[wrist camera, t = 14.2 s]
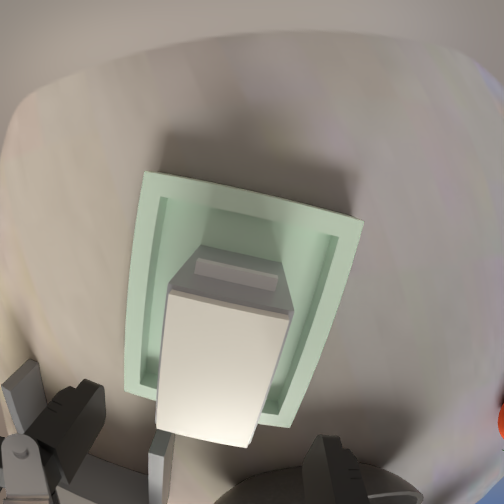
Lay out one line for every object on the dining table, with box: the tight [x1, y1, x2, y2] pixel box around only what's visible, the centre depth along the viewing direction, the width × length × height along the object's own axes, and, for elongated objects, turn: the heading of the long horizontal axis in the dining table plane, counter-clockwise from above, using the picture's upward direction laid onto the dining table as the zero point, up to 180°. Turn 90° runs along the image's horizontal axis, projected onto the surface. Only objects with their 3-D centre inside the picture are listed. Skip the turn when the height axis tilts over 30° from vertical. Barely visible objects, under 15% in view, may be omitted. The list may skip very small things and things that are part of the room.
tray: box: [124, 171, 364, 428], centre depth 19 cm, size 12×15×2 cm
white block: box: [155, 245, 295, 448], centre depth 16 cm, size 5×9×8 cm, turn 167°
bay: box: [1, 359, 175, 504], centre depth 19 cm, size 15×16×10 cm
